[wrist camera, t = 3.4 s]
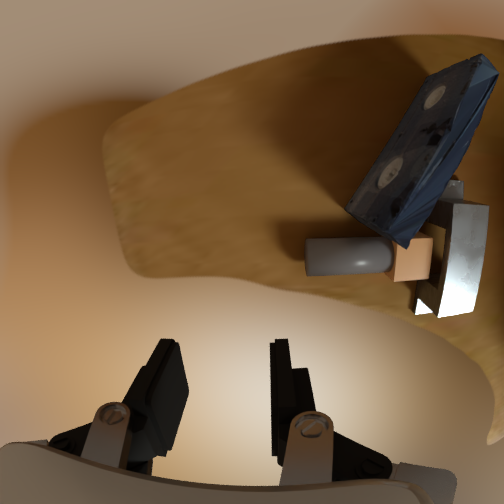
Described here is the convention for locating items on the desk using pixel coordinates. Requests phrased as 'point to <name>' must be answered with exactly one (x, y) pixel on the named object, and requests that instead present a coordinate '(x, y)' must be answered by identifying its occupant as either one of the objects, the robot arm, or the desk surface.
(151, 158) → the desk surface
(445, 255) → the housing
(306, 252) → the plug
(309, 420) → the robot arm
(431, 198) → the vhs cassette tape
